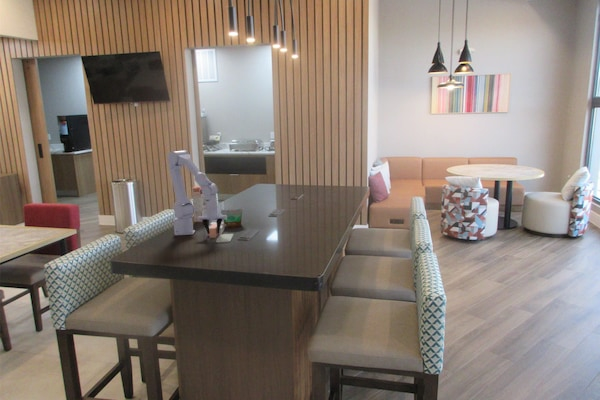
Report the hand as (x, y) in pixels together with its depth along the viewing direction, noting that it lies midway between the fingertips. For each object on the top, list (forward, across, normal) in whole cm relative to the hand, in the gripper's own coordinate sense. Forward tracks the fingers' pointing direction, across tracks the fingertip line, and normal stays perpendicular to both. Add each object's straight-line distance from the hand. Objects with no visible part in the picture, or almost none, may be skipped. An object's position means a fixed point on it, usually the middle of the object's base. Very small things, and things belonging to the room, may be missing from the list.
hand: (213, 233), depth 221 cm
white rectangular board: (+2, +6, -5) cm, 8 cm away
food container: (+2, +8, +19) cm, 21 cm away
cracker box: (+2, -13, +40) cm, 42 cm away
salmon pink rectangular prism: (+2, 0, +3) cm, 3 cm away
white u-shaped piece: (+2, 0, +9) cm, 9 cm away
